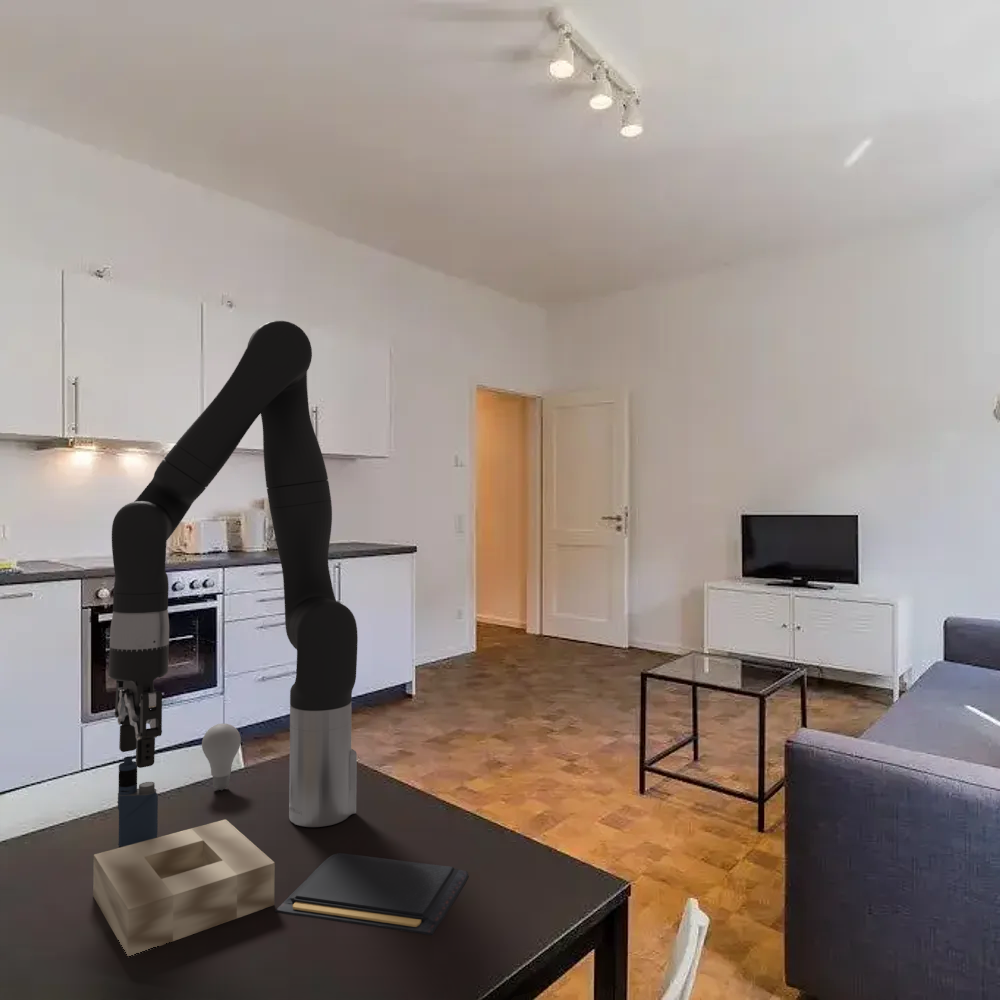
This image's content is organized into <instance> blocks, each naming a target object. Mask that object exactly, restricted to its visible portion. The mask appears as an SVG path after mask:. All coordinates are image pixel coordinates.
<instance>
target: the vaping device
mask: <svg viewBox="0 0 1000 1000" xmlns="http://www.w3.org/2000/svg"><path fill="white" fill-rule="evenodd" d="M117 791H118V793H117V802H116V803H117V809H118V847H124V846H128V845H132V844H135V843H139V842H143V841H146V840H150V839H154V838H158V823H159V822H158V816H159V815H158V814H159V812H158V811H159V809H158V807H159V805H158V804H159V801H158V799H159V798H158V796H159V795H158V792H157V789H156V788H155V781H154V782H153V781H145V782H142V783H140V784H139V785H138V767H137V766H136V760H135V761H133V756H130V755H129V756H128V755H127V756H124V758H123V762H121V763H120V764H119V765H118V790H117Z"/></svg>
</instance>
